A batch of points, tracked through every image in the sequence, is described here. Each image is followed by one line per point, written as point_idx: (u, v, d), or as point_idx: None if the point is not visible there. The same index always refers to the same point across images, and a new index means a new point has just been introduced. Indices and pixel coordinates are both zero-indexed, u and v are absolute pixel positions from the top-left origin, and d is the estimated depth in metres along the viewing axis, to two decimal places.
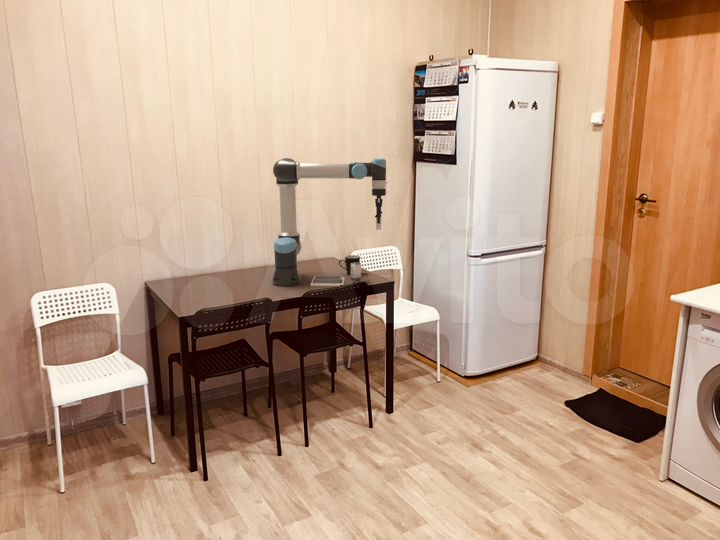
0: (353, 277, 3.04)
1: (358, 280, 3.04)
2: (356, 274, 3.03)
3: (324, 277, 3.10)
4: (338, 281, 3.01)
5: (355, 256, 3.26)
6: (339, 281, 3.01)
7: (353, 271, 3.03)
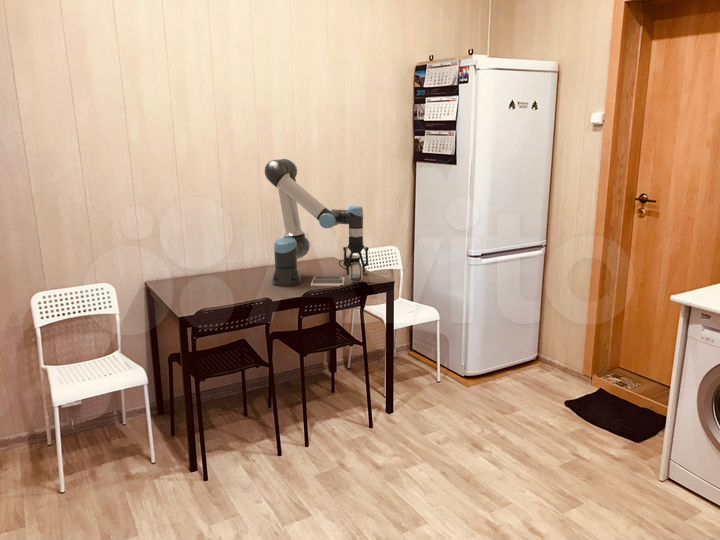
0: (353, 277, 3.04)
1: (358, 280, 3.04)
2: (356, 274, 3.03)
3: (324, 277, 3.10)
4: (338, 281, 3.01)
5: (355, 256, 3.26)
6: (339, 281, 3.01)
7: (353, 271, 3.03)
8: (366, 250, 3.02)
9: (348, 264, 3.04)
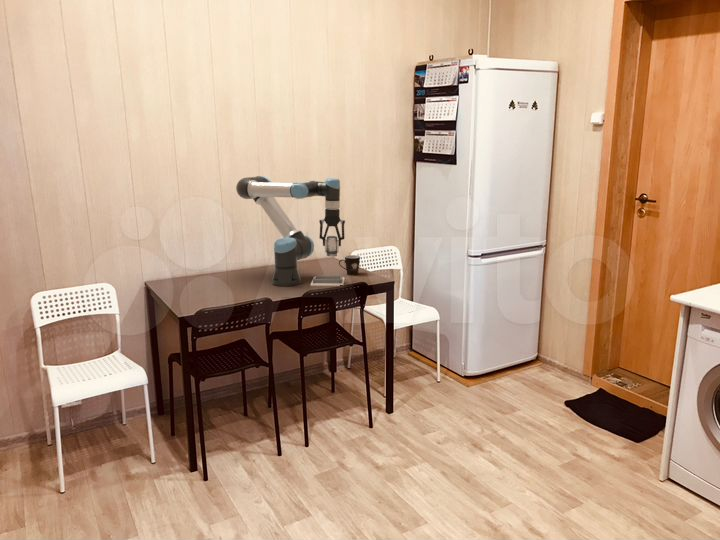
0: (329, 250, 3.01)
1: (334, 254, 3.01)
2: (332, 247, 3.00)
3: (324, 277, 3.10)
4: (338, 281, 3.01)
5: (355, 256, 3.26)
6: (339, 281, 3.01)
7: (329, 244, 3.00)
8: (342, 223, 2.98)
9: (324, 237, 3.00)
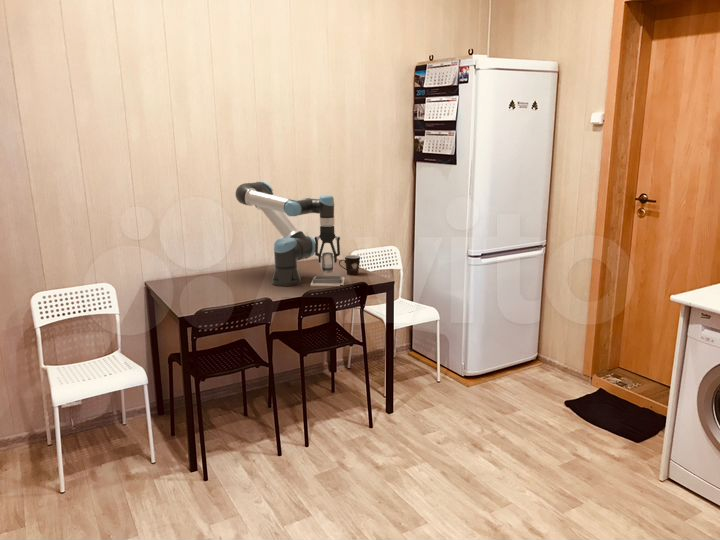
0: (325, 267, 3.02)
1: (330, 270, 3.03)
2: (328, 264, 3.01)
3: (324, 277, 3.10)
4: (338, 281, 3.01)
5: (355, 256, 3.26)
6: (339, 281, 3.01)
7: (325, 261, 3.01)
8: (337, 240, 3.00)
9: (320, 254, 3.02)
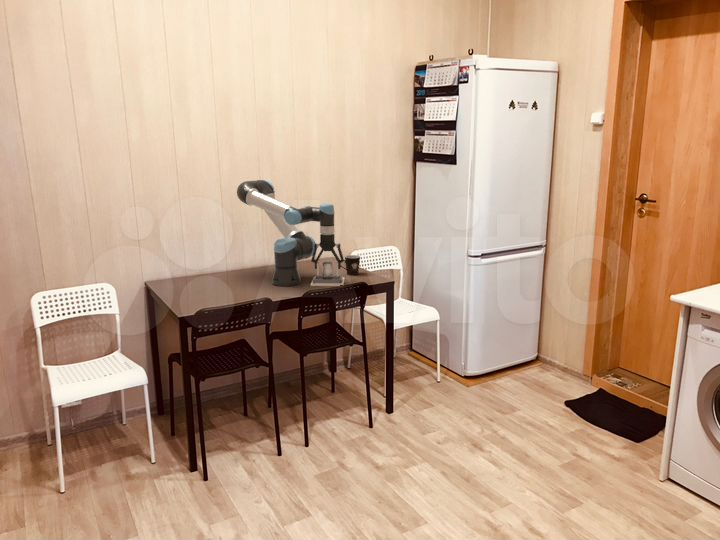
0: (325, 276, 3.03)
1: None
2: (328, 273, 3.03)
3: None
4: (338, 281, 3.01)
5: (355, 256, 3.26)
6: (339, 281, 3.01)
7: (325, 270, 3.03)
8: (338, 247, 3.01)
9: (316, 260, 3.03)
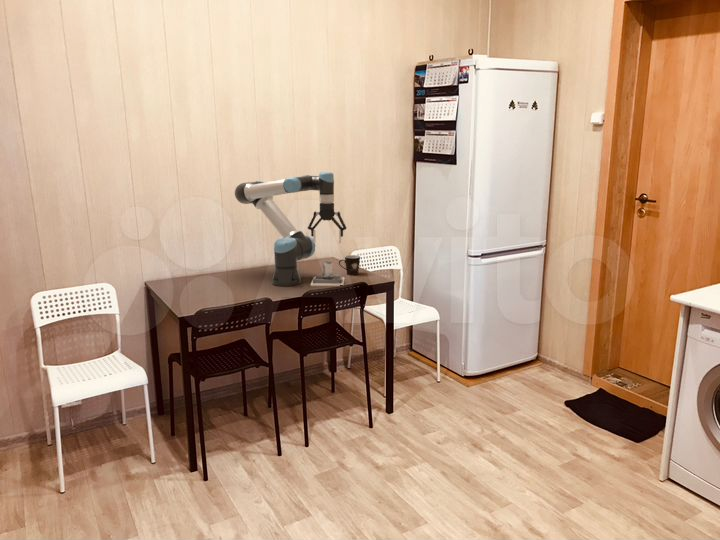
0: (325, 276, 3.03)
1: None
2: (328, 273, 3.03)
3: None
4: (338, 281, 3.01)
5: (355, 256, 3.26)
6: (339, 281, 3.01)
7: (325, 270, 3.03)
8: (338, 215, 2.97)
9: (313, 228, 2.99)
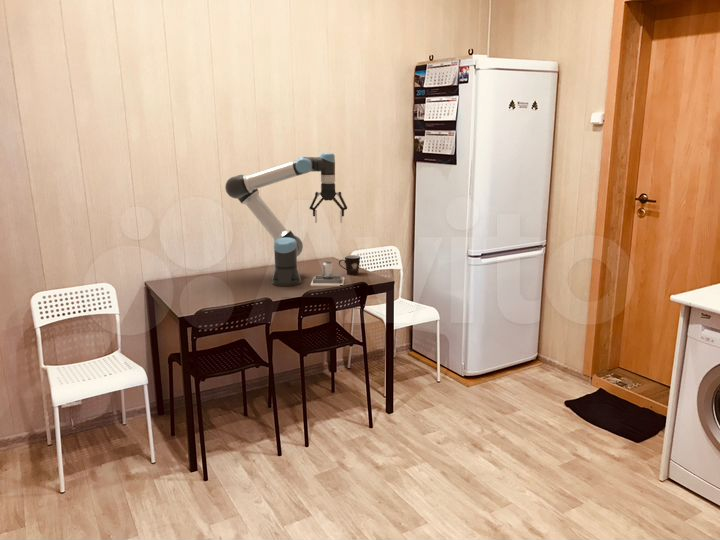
0: (325, 276, 3.03)
1: None
2: (328, 273, 3.03)
3: None
4: (338, 281, 3.01)
5: (355, 256, 3.26)
6: (339, 281, 3.01)
7: (325, 270, 3.03)
8: (339, 195, 3.05)
9: (314, 208, 3.06)
